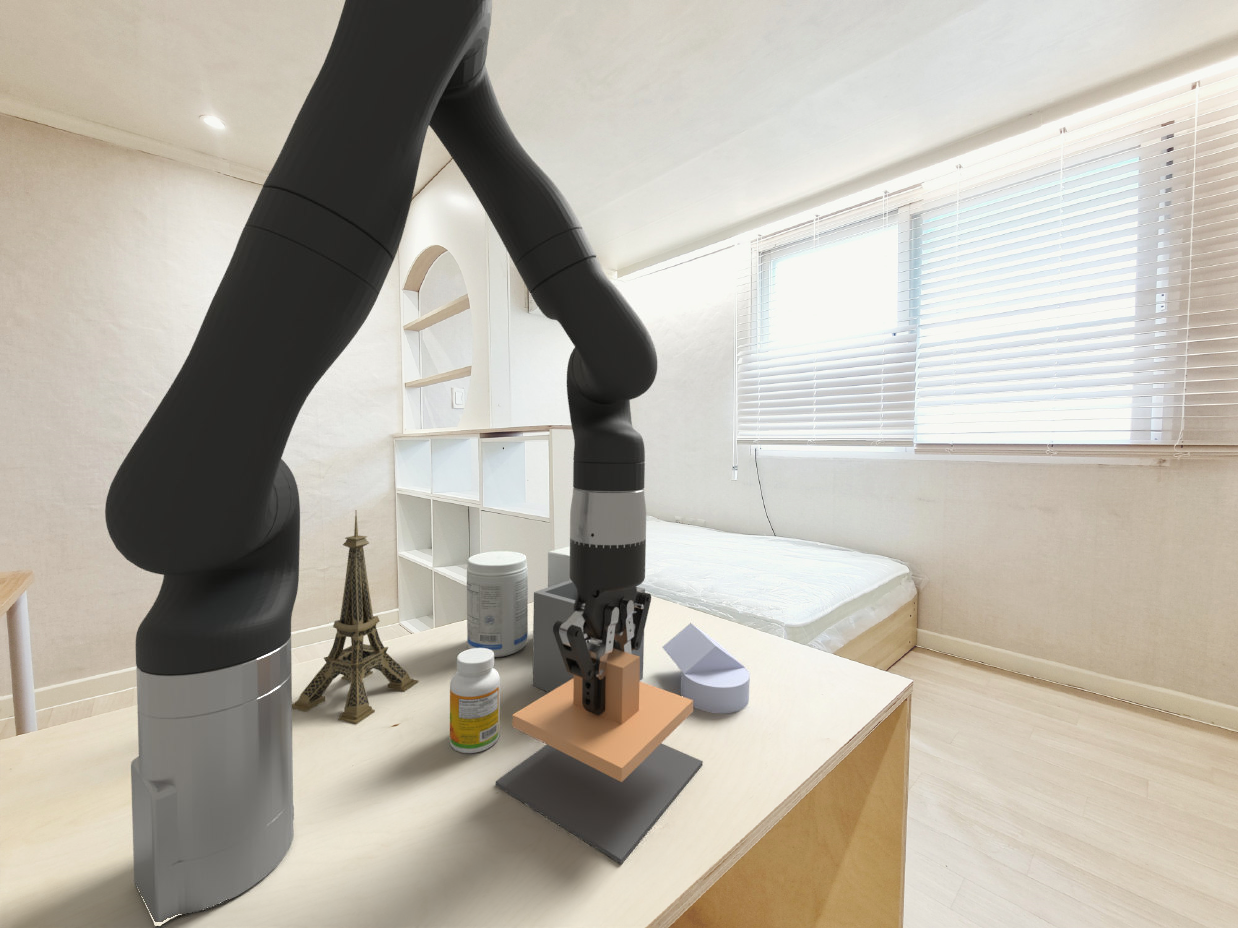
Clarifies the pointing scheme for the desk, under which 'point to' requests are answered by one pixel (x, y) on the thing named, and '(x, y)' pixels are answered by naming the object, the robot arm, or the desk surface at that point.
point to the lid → (607, 718)
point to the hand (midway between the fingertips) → (605, 702)
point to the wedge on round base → (708, 672)
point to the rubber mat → (601, 795)
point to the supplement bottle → (474, 702)
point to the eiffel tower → (355, 645)
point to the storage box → (546, 653)
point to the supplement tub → (497, 602)
